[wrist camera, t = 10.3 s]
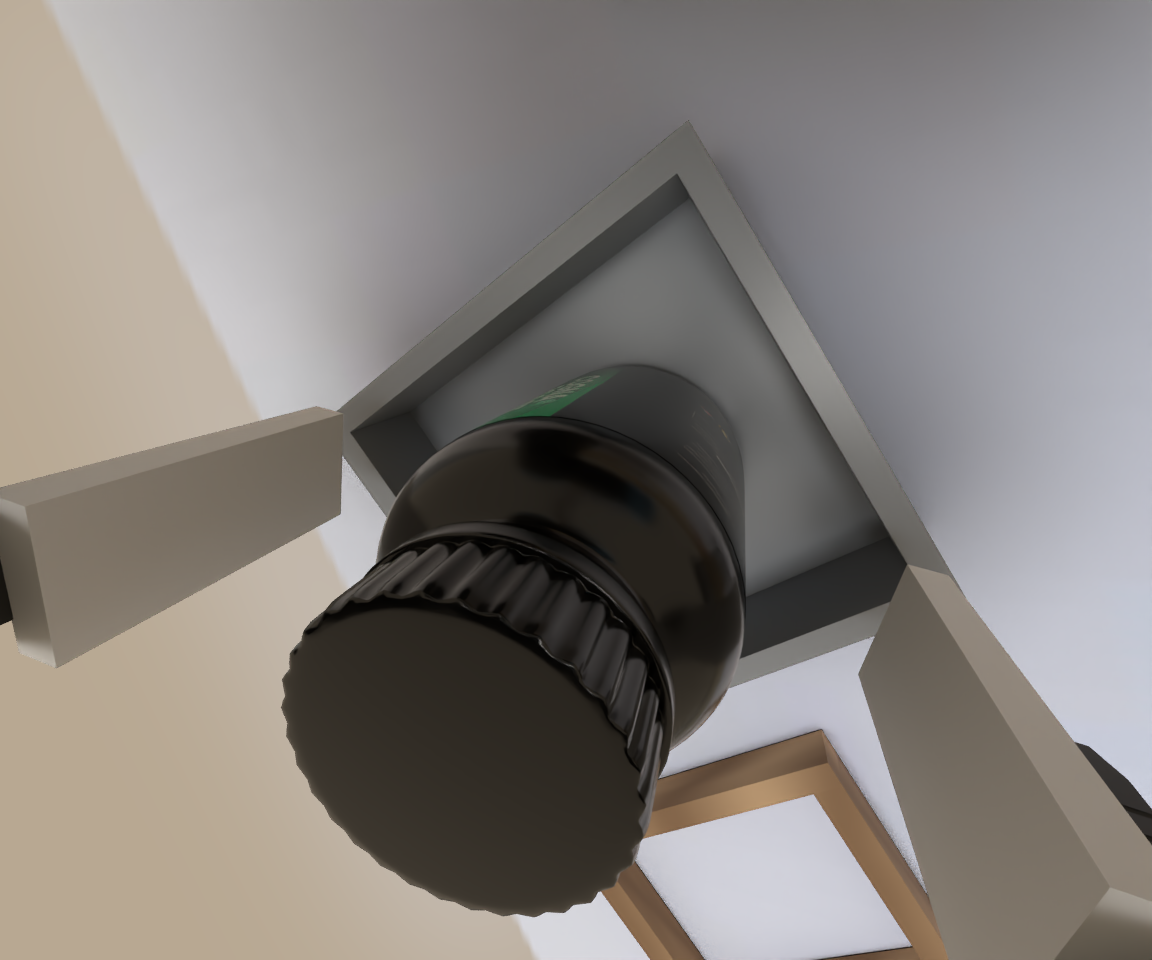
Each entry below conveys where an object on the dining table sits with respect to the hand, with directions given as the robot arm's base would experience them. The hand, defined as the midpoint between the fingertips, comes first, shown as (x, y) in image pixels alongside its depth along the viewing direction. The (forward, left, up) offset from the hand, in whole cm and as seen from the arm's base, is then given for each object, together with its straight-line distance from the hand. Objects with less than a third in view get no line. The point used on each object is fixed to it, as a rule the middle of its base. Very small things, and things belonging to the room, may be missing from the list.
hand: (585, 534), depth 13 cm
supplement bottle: (0, 0, -6) cm, 6 cm away
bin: (0, 0, -6) cm, 6 cm away
